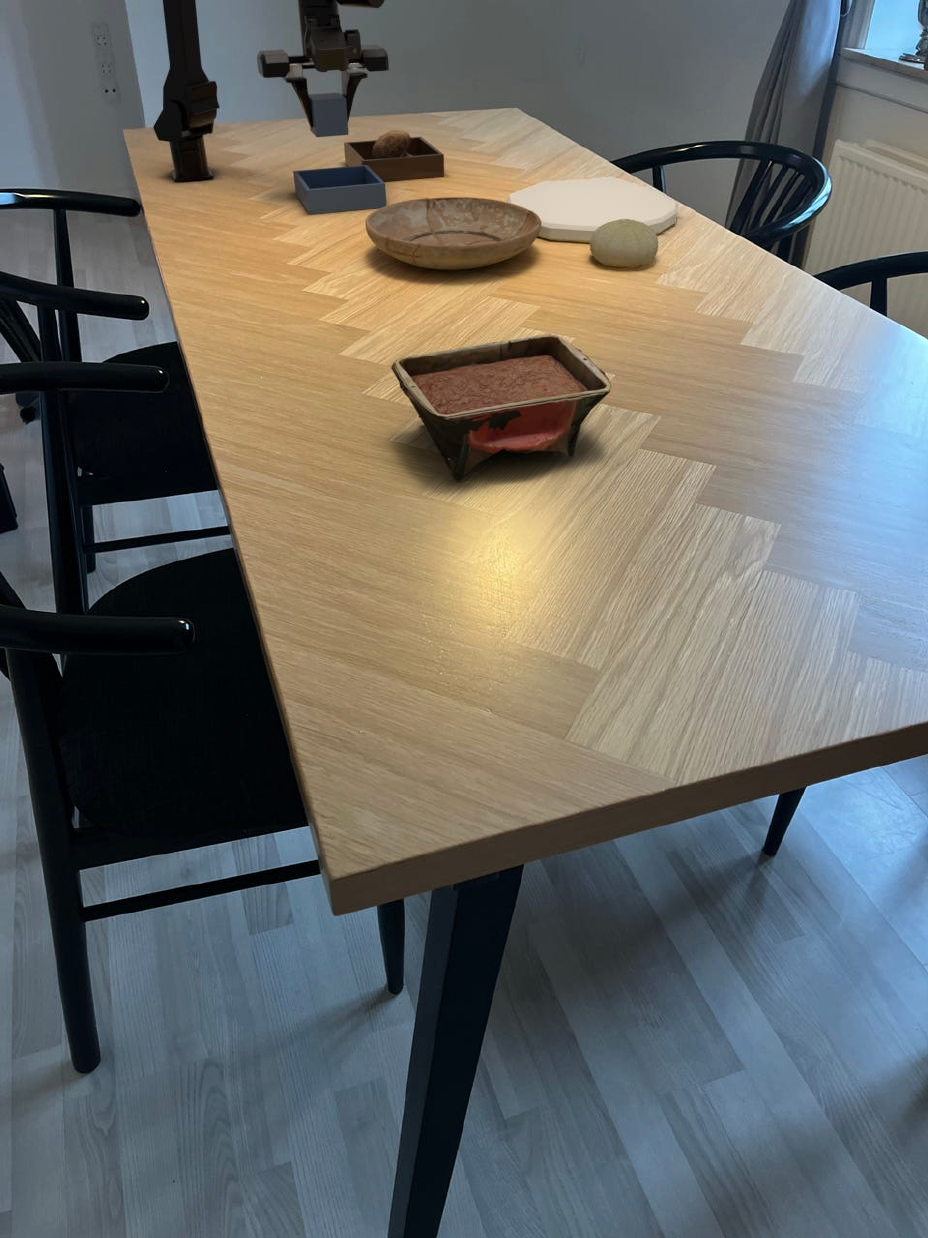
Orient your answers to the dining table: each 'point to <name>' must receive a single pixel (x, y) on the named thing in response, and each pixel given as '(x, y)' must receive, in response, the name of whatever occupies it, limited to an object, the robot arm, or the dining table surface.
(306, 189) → the blue bin
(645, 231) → the sea urchin shell
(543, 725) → the dining table surface
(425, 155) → the walnut bin
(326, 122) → the blue block
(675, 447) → the dining table surface
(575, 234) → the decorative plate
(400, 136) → the mushroom
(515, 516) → the dining table surface
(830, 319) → the dining table surface
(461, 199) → the ceramic bowl
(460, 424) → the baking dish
